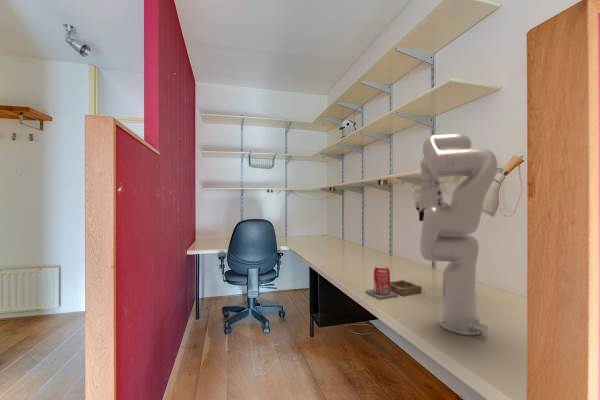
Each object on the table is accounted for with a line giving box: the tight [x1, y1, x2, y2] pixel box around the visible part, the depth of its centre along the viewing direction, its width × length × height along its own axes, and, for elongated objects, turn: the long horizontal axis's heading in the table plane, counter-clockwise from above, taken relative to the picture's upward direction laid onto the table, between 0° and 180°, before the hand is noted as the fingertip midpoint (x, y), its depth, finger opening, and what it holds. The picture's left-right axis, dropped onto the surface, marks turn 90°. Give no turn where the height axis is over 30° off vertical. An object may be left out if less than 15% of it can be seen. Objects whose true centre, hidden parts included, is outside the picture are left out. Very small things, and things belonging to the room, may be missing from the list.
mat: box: [365, 288, 399, 301], centre depth 123 cm, size 10×10×1 cm
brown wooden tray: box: [390, 279, 423, 297], centre depth 128 cm, size 11×11×3 cm
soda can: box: [373, 264, 391, 295], centre depth 122 cm, size 7×7×12 cm
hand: (430, 221), depth 124 cm, fingers open, 9 cm apart
